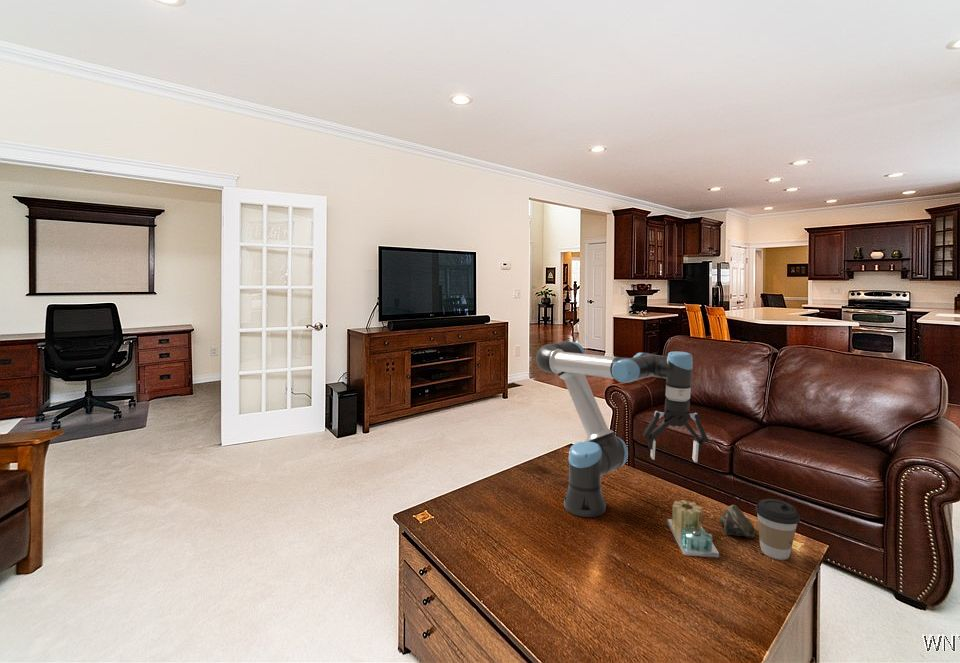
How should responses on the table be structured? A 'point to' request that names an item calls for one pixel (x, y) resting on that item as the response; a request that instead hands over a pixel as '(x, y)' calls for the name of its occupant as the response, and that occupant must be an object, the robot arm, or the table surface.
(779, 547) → the coffee cup
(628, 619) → the table surface
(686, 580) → the table surface
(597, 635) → the table surface
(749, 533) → the grey rock
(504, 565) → the table surface
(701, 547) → the carrier
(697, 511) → the gear
